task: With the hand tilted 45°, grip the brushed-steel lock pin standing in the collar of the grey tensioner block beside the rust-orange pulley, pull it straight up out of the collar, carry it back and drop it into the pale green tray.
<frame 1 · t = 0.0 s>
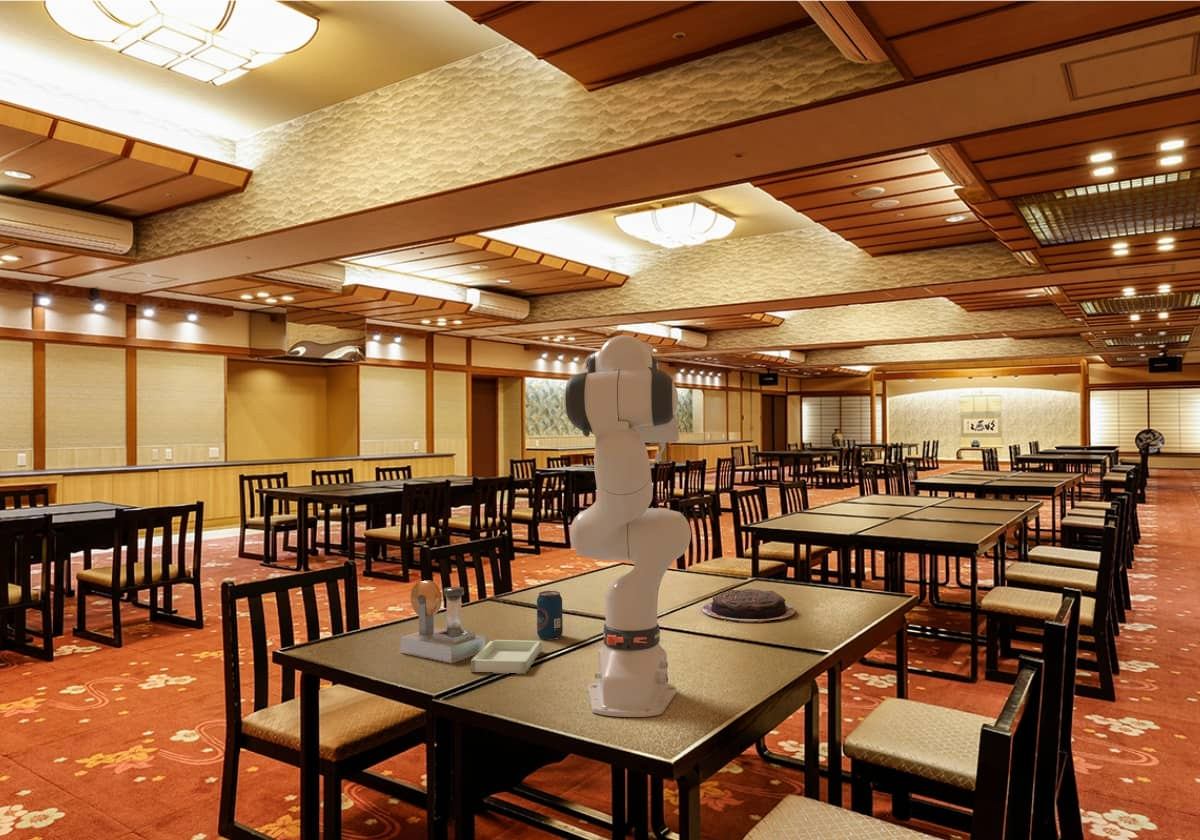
hand: (639, 461, 196), 48 cm above the table, tool pointing down, fingers open, 8 cm apart
soda can: (550, 638, 210), on the table
chocolate cake: (748, 614, 236), on the table
lock pin: (454, 638, 195), point 4 cm above the table, touching tensioner block
tensioner block: (454, 654, 195), on the table
tray: (507, 661, 188), on the table
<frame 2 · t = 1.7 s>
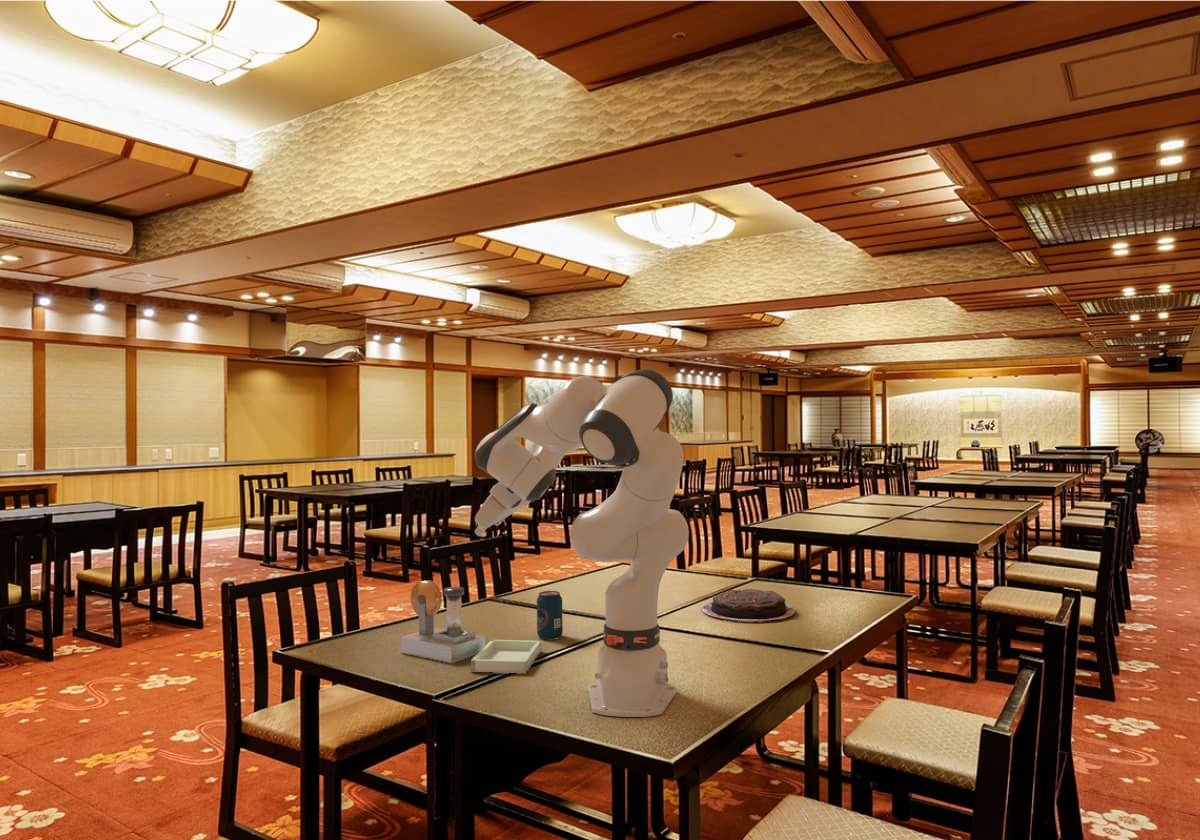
hand: (486, 528, 190), 32 cm above the table, tool tilted 45°, fingers open, 8 cm apart
nothing on the table moved.
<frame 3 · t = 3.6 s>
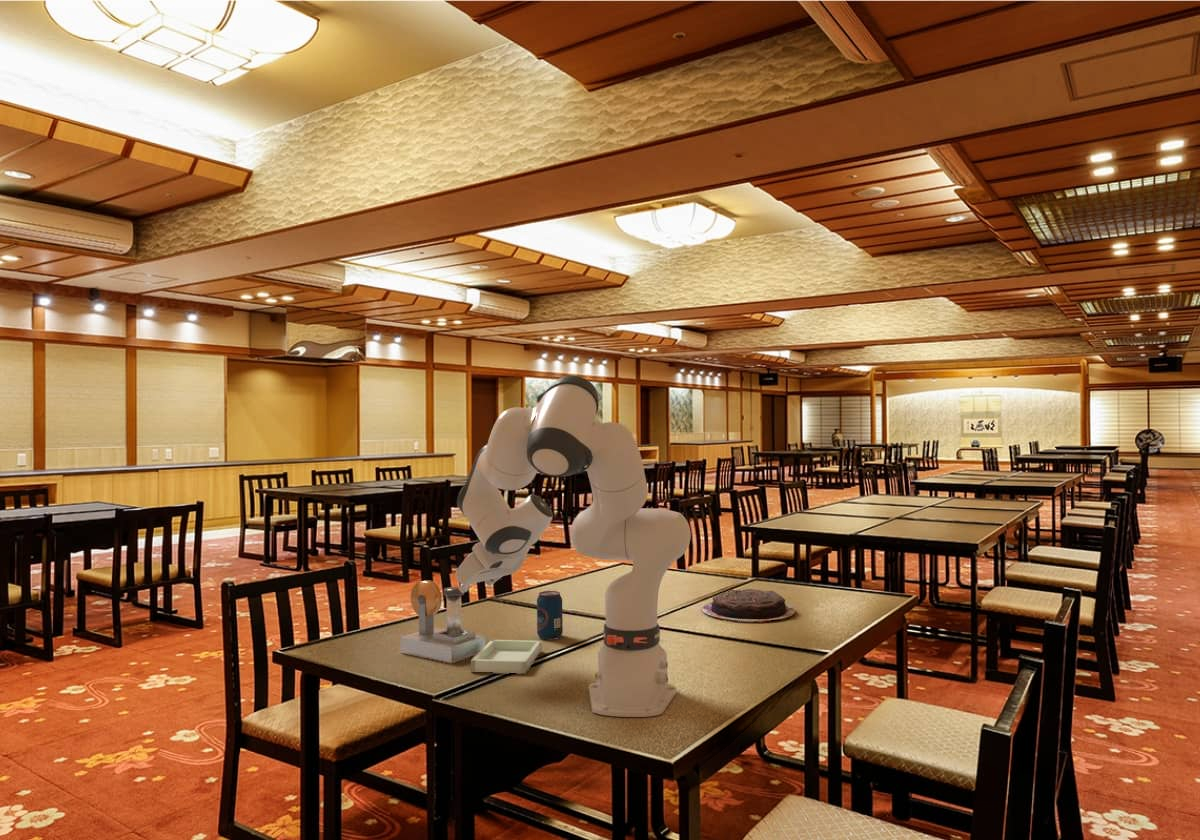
hand: (475, 586, 190), 18 cm above the table, tool tilted 45°, fingers open, 8 cm apart
nothing on the table moved.
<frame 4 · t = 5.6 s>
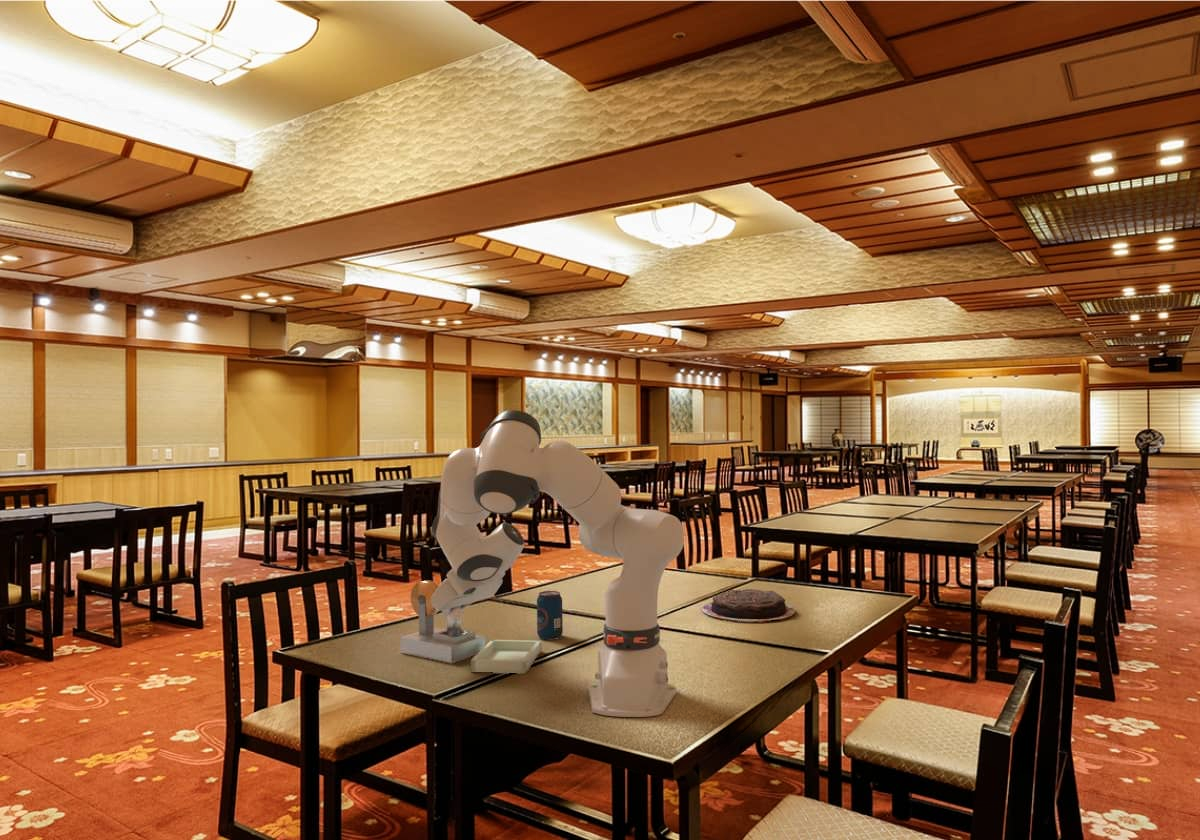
hand: (452, 610, 195), 11 cm above the table, tool tilted 45°, fingers closed on lock pin, 4 cm apart
lock pin: (454, 638, 195), point 4 cm above the table, touching gripper, tensioner block
everything else where it was.
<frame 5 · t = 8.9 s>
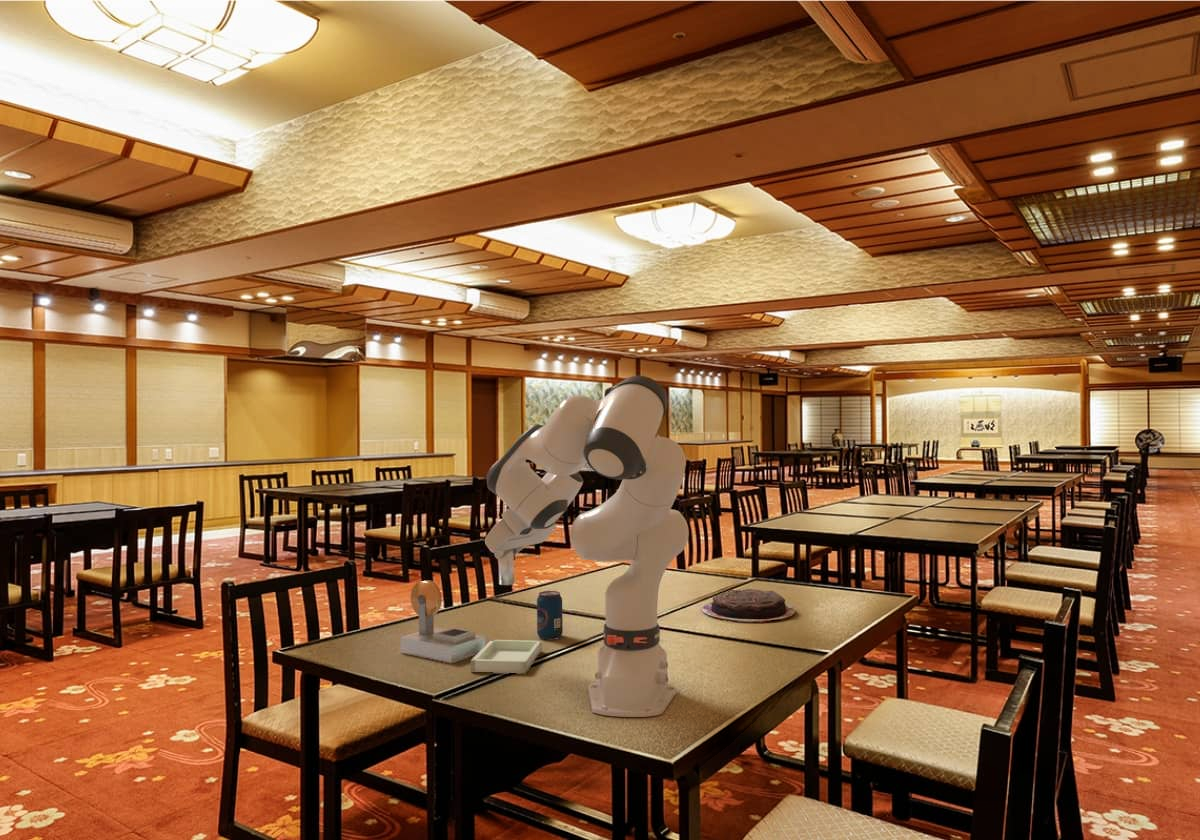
hand: (504, 555, 189), 26 cm above the table, tool tilted 45°, fingers closed on lock pin, 4 cm apart
lock pin: (506, 583, 188), point 19 cm above the table, touching gripper
everything else where it was.
when the fingers open (9 cm above the table, at t = 12.1 s): lock pin drops 2 cm, resting on tray.
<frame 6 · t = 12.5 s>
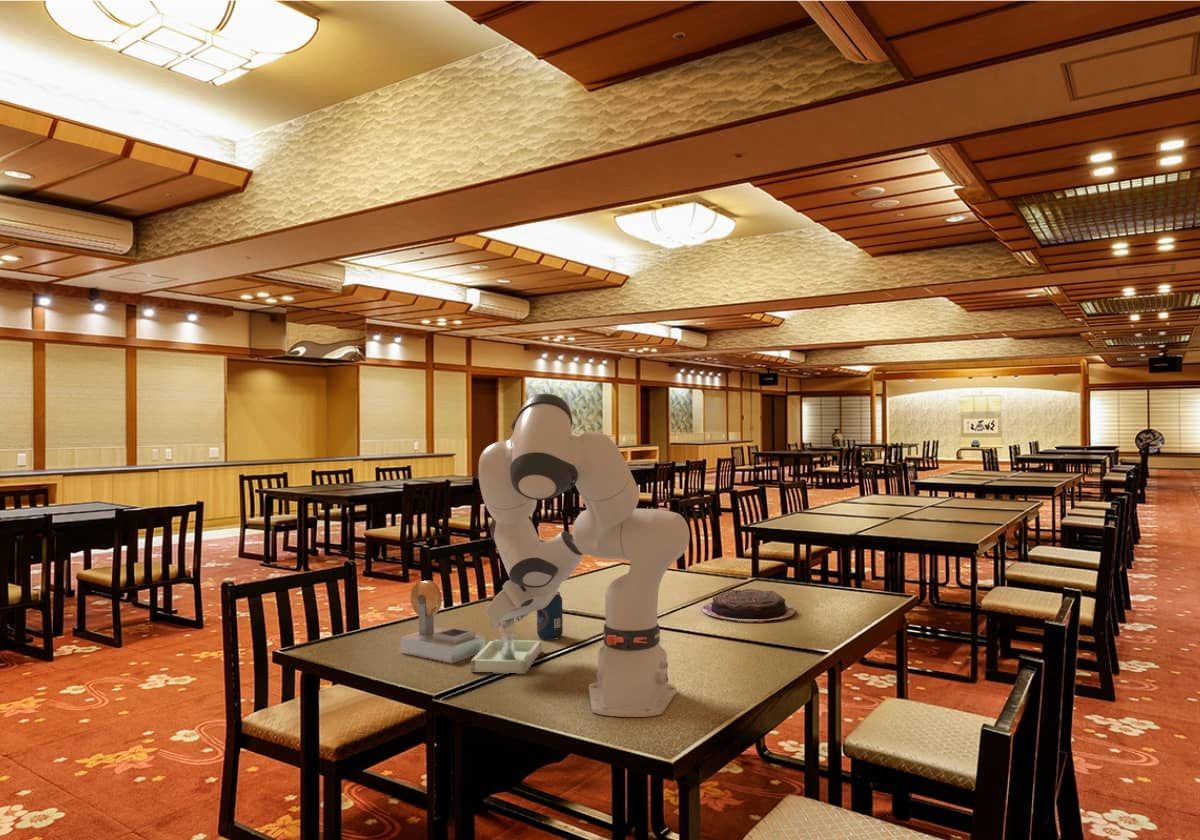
hand: (505, 622, 189), 9 cm above the table, tool tilted 45°, fingers open, 7 cm apart
lock pin: (507, 659, 188), point 1 cm above the table, touching tray
everything else where it was.
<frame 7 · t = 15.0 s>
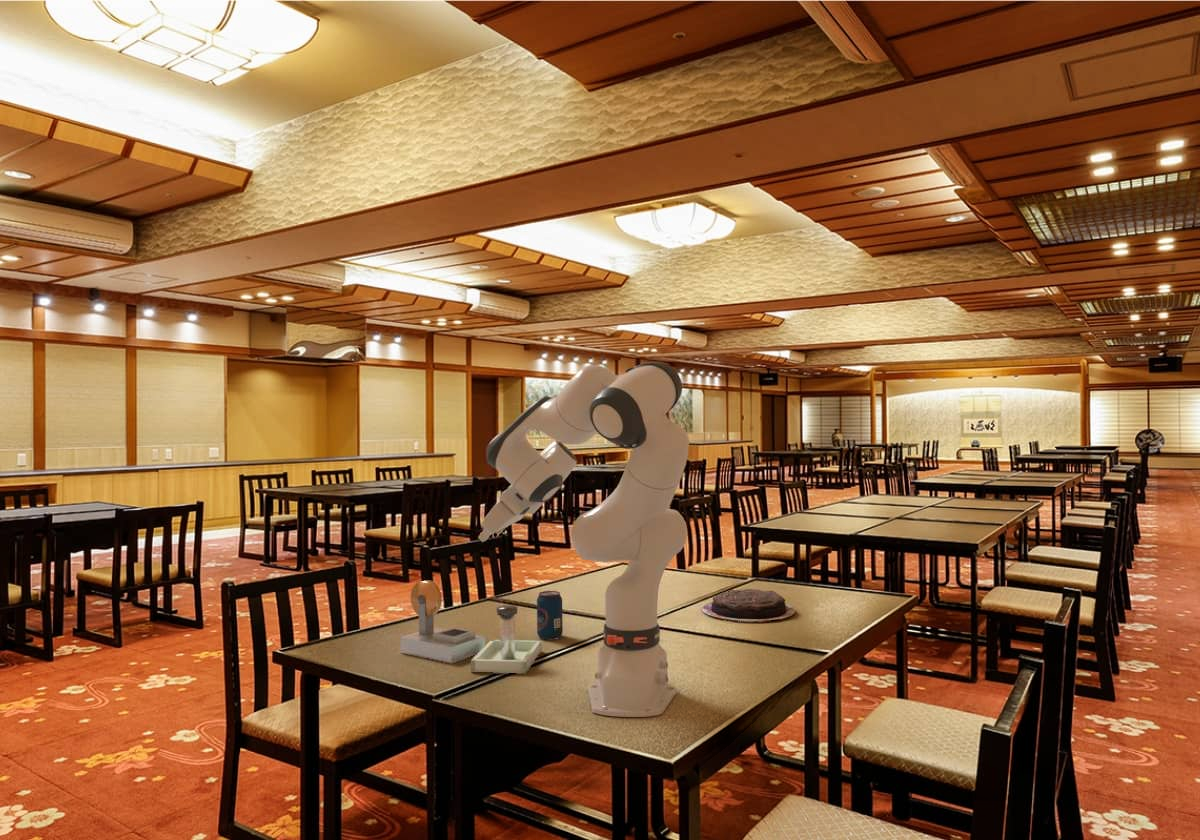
hand: (489, 535, 190), 30 cm above the table, tool tilted 45°, fingers open, 8 cm apart
nothing on the table moved.
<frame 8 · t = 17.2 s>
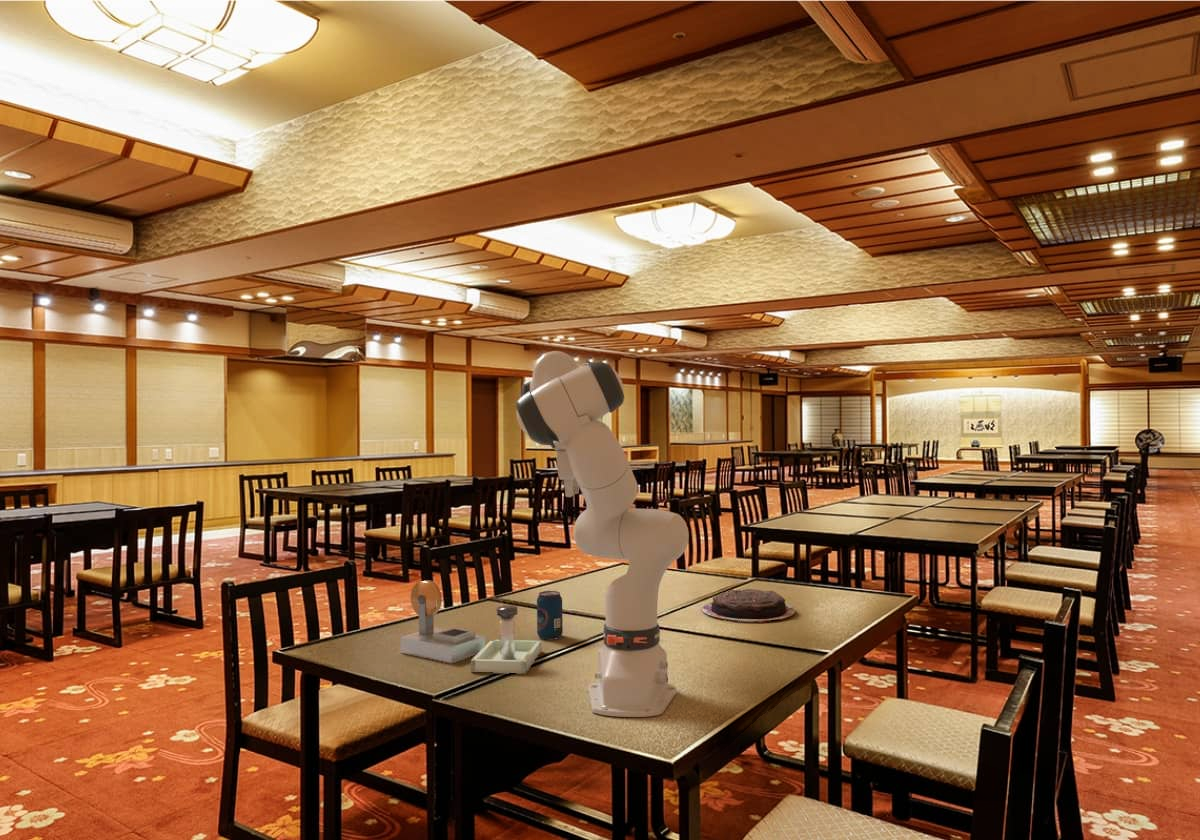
hand: (572, 495, 202), 39 cm above the table, tool pointing down, fingers open, 8 cm apart
nothing on the table moved.
at the end: lock pin inside the target area on the tray (0.0 cm from its centre), point 0.6 cm above the tray's base; the gripper is holding nothing; lock pin moved 16.2 cm from its start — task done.
